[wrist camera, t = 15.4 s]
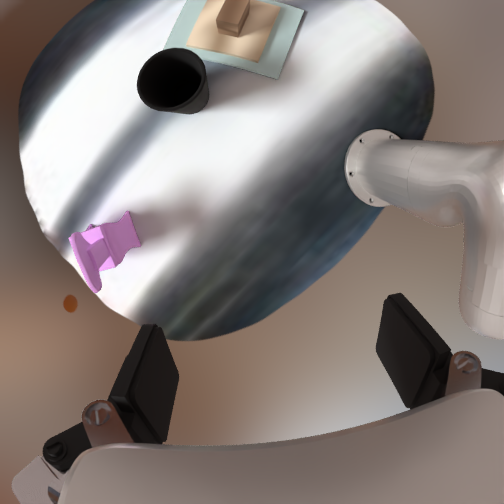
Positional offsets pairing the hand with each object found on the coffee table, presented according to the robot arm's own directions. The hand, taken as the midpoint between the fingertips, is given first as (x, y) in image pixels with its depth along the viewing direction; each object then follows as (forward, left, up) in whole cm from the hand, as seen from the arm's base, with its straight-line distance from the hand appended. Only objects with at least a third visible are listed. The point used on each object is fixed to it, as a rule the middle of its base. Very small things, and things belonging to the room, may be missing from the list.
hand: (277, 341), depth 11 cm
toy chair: (+24, 0, -32) cm, 40 cm away
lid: (-4, -27, -32) cm, 42 cm away
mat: (-4, -27, -32) cm, 42 cm away
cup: (+5, -17, -32) cm, 37 cm away
